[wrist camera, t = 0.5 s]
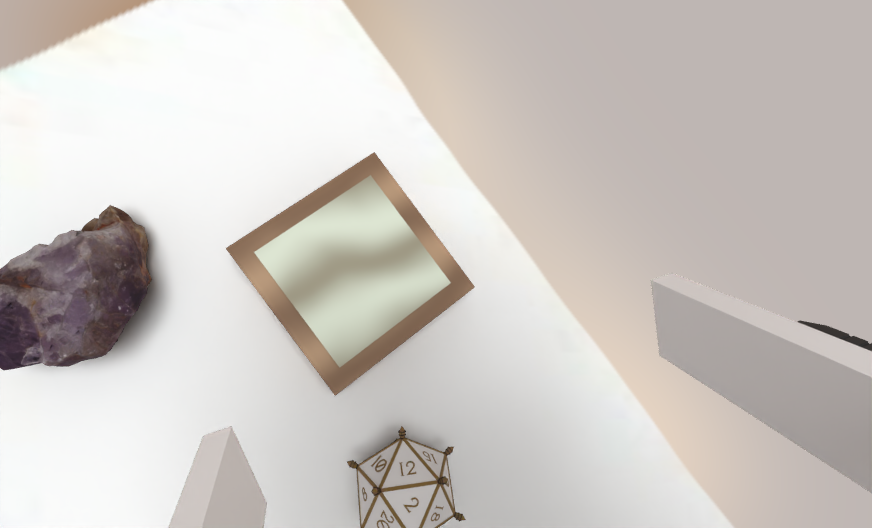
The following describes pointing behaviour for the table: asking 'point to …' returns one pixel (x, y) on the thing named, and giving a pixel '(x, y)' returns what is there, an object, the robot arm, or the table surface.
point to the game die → (405, 487)
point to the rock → (73, 293)
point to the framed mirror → (351, 271)
